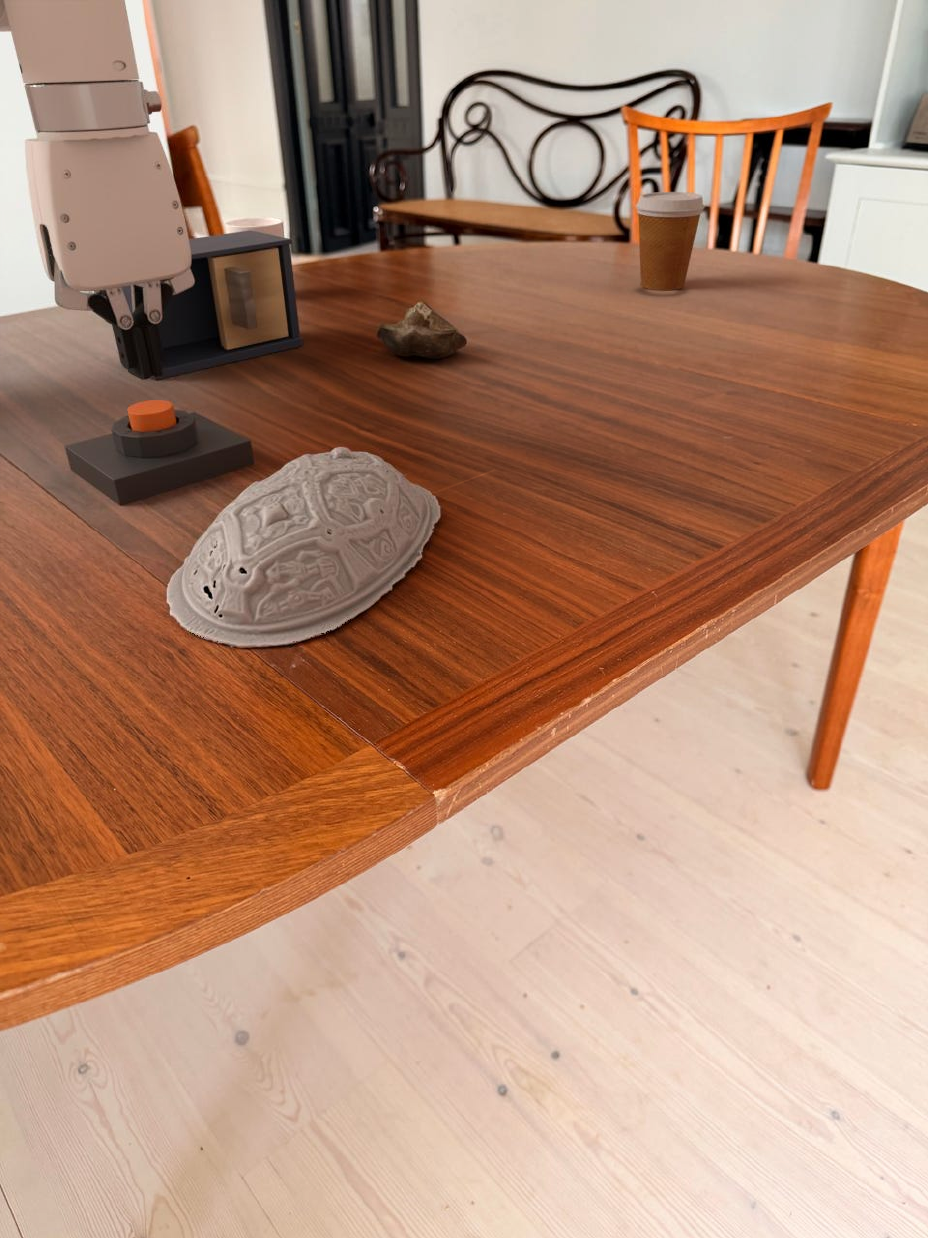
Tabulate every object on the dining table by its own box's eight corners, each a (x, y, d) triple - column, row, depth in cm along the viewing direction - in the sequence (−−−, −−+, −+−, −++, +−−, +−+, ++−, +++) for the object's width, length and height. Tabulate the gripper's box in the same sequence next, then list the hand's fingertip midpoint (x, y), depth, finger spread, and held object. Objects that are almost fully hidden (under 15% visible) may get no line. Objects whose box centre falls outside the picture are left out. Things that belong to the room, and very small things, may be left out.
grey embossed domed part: (106, 611, 56) (93, 512, 52) (306, 477, 76) (307, 399, 72) (331, 682, 52) (334, 580, 48) (478, 521, 72) (487, 441, 69)
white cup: (250, 305, 126) (240, 228, 121) (227, 295, 132) (216, 221, 126) (301, 296, 130) (292, 222, 125) (276, 287, 136) (267, 215, 130)
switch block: (120, 506, 70) (108, 458, 68) (70, 470, 77) (58, 425, 75) (254, 464, 77) (248, 419, 75) (198, 434, 83) (191, 392, 81)
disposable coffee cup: (626, 278, 137) (632, 191, 130) (689, 278, 136) (699, 190, 130) (633, 293, 129) (640, 201, 122) (700, 292, 128) (711, 200, 122)
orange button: (143, 438, 73) (138, 417, 72) (124, 427, 75) (120, 406, 74) (184, 427, 75) (180, 406, 74) (164, 416, 77) (160, 396, 76)
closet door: (243, 356, 100) (229, 262, 95) (223, 348, 103) (209, 256, 98) (305, 342, 105) (295, 251, 100) (285, 335, 108) (274, 246, 102)
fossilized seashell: (360, 338, 101) (436, 365, 98) (381, 281, 100) (459, 306, 97) (389, 357, 108) (461, 382, 105) (409, 304, 107) (482, 328, 104)
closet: (155, 380, 98) (131, 263, 91) (120, 363, 103) (95, 252, 97) (303, 345, 108) (291, 238, 102) (264, 332, 114) (250, 229, 108)
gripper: (164, 106, 69) (207, 347, 79) (-41, 118, 61) (35, 385, 71) (212, 108, 65) (251, 364, 74) (-4, 121, 56) (71, 407, 66)
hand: (145, 373), depth 72 cm, fingers closed
